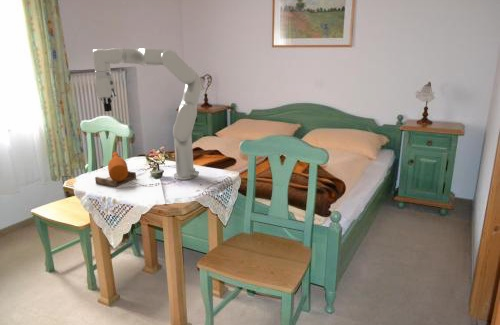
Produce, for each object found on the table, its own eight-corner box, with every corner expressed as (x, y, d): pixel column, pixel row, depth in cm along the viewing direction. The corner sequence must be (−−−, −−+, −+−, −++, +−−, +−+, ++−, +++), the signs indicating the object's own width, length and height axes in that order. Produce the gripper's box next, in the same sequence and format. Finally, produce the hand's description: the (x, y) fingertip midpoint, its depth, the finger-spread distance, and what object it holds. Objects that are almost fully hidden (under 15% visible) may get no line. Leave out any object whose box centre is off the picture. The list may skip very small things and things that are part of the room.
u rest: (136, 178, 214) (135, 172, 213) (115, 187, 201) (114, 181, 200) (117, 175, 220) (116, 169, 219) (95, 183, 207) (95, 177, 206)
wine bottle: (108, 166, 199) (105, 146, 225) (109, 183, 202) (106, 162, 228) (128, 164, 202) (123, 145, 228) (129, 181, 206) (124, 161, 232)
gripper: (119, 74, 194) (124, 110, 199) (98, 73, 200) (103, 109, 206) (108, 75, 187) (113, 113, 193) (86, 75, 194) (92, 111, 199)
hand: (108, 111), depth 199 cm, fingers closed
